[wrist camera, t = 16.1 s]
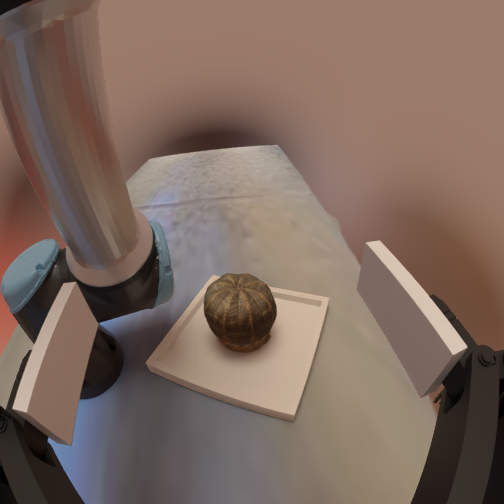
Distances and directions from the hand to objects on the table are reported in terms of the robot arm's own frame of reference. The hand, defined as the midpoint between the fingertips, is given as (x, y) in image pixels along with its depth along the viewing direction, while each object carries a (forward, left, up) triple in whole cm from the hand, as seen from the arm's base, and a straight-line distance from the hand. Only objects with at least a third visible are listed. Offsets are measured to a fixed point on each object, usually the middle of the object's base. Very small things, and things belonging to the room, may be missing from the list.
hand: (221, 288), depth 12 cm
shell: (-9, +19, -29) cm, 36 cm away
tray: (-9, +19, -30) cm, 37 cm away
